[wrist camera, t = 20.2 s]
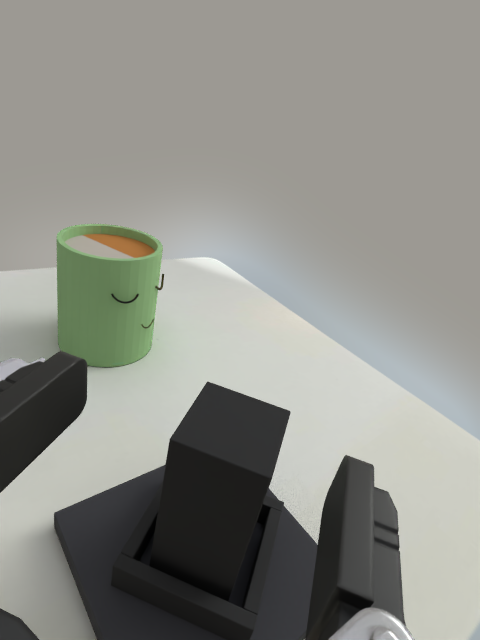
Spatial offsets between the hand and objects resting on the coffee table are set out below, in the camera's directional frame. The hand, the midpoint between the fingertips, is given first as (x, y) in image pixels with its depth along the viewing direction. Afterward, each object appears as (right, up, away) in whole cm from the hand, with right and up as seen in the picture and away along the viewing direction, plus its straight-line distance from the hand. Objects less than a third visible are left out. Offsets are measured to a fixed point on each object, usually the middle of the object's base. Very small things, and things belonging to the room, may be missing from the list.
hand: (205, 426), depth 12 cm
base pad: (-2, -13, +15) cm, 20 cm away
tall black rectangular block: (-1, -12, +14) cm, 18 cm away
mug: (-14, +1, +35) cm, 38 cm away
